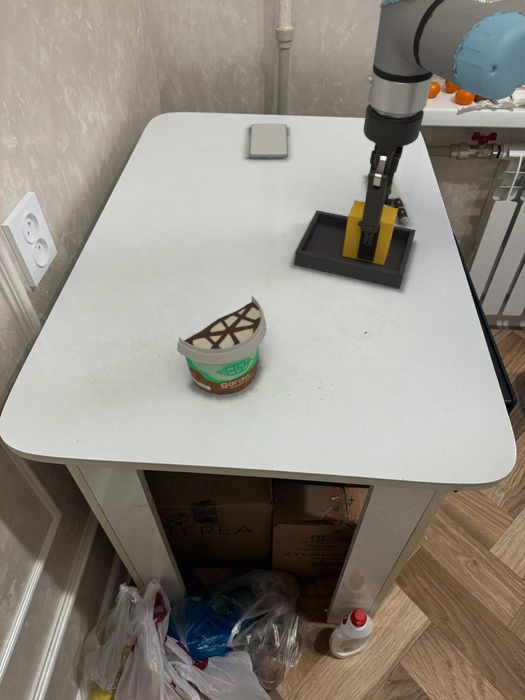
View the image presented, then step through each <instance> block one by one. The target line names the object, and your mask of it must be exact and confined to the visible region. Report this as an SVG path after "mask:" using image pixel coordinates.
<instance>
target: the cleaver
mask: <svg viewBox="0 0 525 700" xmlns="http://www.w3.org/2000/svg"><path fill="white" fill-rule="evenodd" d="M388 199H392V200H393V202H392V205H393V208H397V209H398V212H397V218H398V220H399V223H401V224H402V225H406V224H408V222H409V221H410V219H409V216H408V213H407V210H406V207H405V204H404V202H403V200H402V198H400V197H399V193H398V191H397V189H396V187H395V183H394V181H393V182H392V187H391V194H390V195H389V198H388Z"/></svg>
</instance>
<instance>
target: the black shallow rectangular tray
mask: <svg viewBox="0 0 525 700" xmlns="http://www.w3.org/2000/svg"><path fill="white" fill-rule="evenodd" d="M347 222H348V215H343V214H337V213H332V212H327V211H322V210H315V212H314V215H313V217H312V219H311V220H310V222H309V224H308V226H307V228H306V230H305V231H304V234H303V236H302V238H301V240H300V242H299V244H298V246H297V248H296V249H295V252H294V266H297V267H302V268H306V269H309V270H315V271H320V272H324V273H328V274H333V275H337V276H342V277H345V278H350V279H354V280H359V281H363V282H367V283H373V284H375V285H380V286H385V287H390V288H394V289H398V290H399V289H401V286H402V282H403V279H404V276H405V272H406V269H407V268H406V267H407V264H408V261H409V258H410V253H411V250H412V247H413V244H414V243H413V242H414V238H415V235H416V232H417V230H416V229H413V228H409V227H408V228H407V227H405V226H398V225H394V229H393V233H392V237H391V241H390V246H389V250H388V253H387V256H386V259H385V263H384V265H381V264H377V263H372V262H367V261H363V260H358V259H354V258H349V257H345V256H342V255H343V248H344V242H345V235H346V228H347Z"/></svg>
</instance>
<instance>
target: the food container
mask: <svg viewBox="0 0 525 700" xmlns="http://www.w3.org/2000/svg"><path fill="white" fill-rule="evenodd" d="M265 317H266V316H265V313H264V311H263V309H262V306H261V304H259V301H258V300H257V299H256V298H255V296H253V295H251V299H250V302H249V303H247V304H246V305H244V306H242V307H241V308H239V309H237V310H235V311H233V312H231V313H228V314H226V315H224V316H221V317H219V318H218V319H216V320H215V321H213V322H212V323H210V324H209V325H207V326H206V327H205V328H203V329H202V330H200V331H198V332H196V333H194V334H193V335H191V336H190V337H188V338H186V339H185V340H184V339H182V337H180V336H178V341H177V345H176V346H177V347H176V351H177V352H178V353H179V354H180V355H182V356H184V359H185V361H186V364H187V366H188V368H189V369H188V370H189V372H190V375H191V378H192V380H193V383H194V385H196V387H198V388H199V389H201V390H202V391H205V392H206V393H209V394H213V395H218V396H219V395H220V396H222V395H232V394H235V393H238V392H240V391H243V390H244V389H246V388H247V387H248V386H249V385H250V384H251V383H252V382H253V380H254V379H255V377H256V375H257V370H258V362H259V361H258V360H259V352H260V345H261V344H262V342H263V340H264V338H265V336H266V332H267V321H266V318H265Z"/></svg>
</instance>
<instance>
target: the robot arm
mask: <svg viewBox="0 0 525 700" xmlns="http://www.w3.org/2000/svg"><path fill="white" fill-rule="evenodd" d="M379 8H380V13H379V21H378V28H377V34H376V40H375V41H376V42H375V49H374V57H373V63H372V72H371V74H369V75H367V77H366V78H365V81H366V83H367V84H368V85H369V84H370V87H369V91H368V99H367V100H368V103H369V104H367V106H366V108H365V116H364V124H363V135H364V136H365V138H366V139H367V140H369V141H370V142H373V144H374V148H373V149H372V150H371V153H370V158H369V164H370V167H369V172H368V174H367V188H366V193H365V200H364V202H365V205H364V211H363V217H362V221H359V222H358V226H360V230H361V236H360V242H359V248H358V254H357V258H360V259H364V260H369V261H373V260H374V256H375V251H376V246H377V241H378V236H379V232H380V227H381V225H380V220H381V216H382V211H383V207H384V206H387V207H392V206H393V199H388V198H389V195H390V194H391V187H392V182H393V183H394V177H395V173H397V170H398V166H399V164H400V160H401V158H402V155H403V151H404V147H406V146H409V145H410V144H412V143H414V142H415V141H416V140H417V139H418V138H419V136H420V131H421V127H422V123H423V119H424V114H425V111H424V110H425V108H426V107H427V104H428V101H429V100H428V99H429V95H430V90H431V87H432V82H433V79H434V75H435V76H437V77H439V78H441V79H443V80H445V81H447V82H449V83H451V84H453V85H455V86H456V87H458V88H460V89H461V90H463V91H464V92H466V93H470V94H471V95H472V96H473V95H474V96H479V97H482V98H485V99H488V100H491V101H500V100H504V99H506V98H509V97H510V96H512V95H513V94H514V93H515V91H516V90H517V89H519V88H521V87H523V86H524V85H525V0H498V1H493V2H492V1H491V2H483V1H479V0H381V2H380V5H379Z"/></svg>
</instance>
